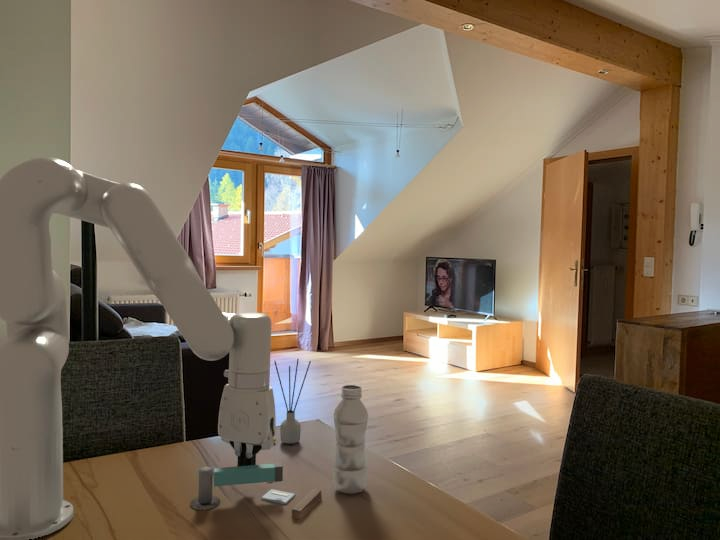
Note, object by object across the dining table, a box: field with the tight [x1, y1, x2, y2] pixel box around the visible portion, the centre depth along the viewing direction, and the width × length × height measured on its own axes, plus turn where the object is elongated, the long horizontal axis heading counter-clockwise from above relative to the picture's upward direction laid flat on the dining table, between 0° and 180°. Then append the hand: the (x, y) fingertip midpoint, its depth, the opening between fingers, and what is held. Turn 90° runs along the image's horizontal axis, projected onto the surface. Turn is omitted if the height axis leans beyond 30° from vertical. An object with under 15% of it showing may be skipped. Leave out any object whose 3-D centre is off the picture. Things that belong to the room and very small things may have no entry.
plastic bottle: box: [332, 384, 369, 495], centre depth 104 cm, size 6×7×20 cm
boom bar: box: [197, 461, 284, 504], centre depth 100 cm, size 15×2×6 cm, turn 105°
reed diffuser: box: [273, 358, 311, 444], centre depth 127 cm, size 10×7×20 cm
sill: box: [291, 488, 322, 520], centre depth 98 cm, size 2×8×2 cm, turn 159°
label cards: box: [261, 488, 296, 505], centre depth 106 cm, size 12×11×1 cm
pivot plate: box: [190, 495, 221, 511], centre depth 98 cm, size 5×5×1 cm
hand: (246, 475), depth 103 cm, fingers closed
